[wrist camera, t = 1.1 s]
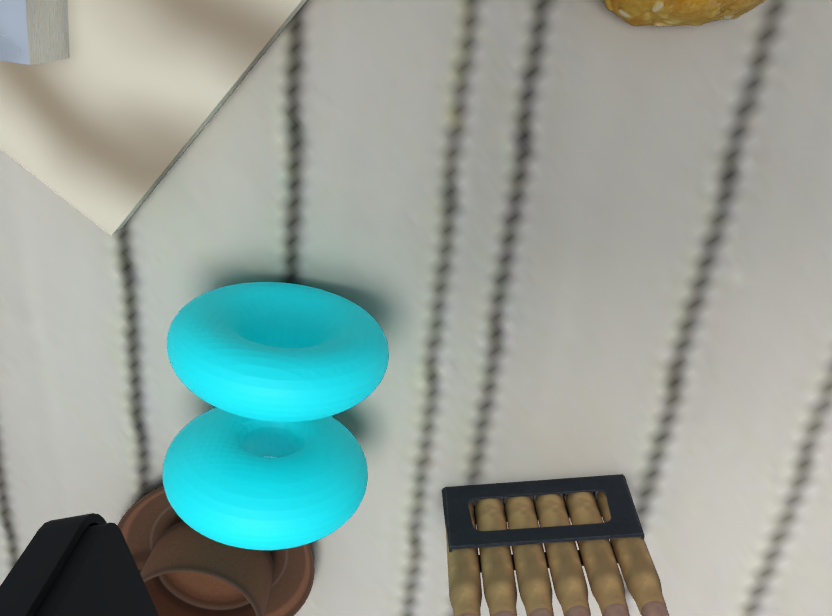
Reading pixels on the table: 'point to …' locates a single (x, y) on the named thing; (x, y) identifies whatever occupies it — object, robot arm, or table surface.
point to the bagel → (678, 11)
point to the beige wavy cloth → (130, 94)
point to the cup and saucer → (211, 567)
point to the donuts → (271, 412)
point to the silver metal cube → (34, 31)
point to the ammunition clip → (548, 547)
